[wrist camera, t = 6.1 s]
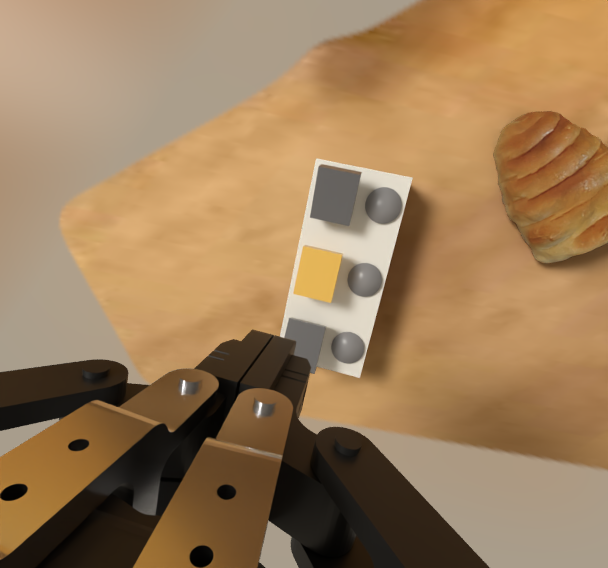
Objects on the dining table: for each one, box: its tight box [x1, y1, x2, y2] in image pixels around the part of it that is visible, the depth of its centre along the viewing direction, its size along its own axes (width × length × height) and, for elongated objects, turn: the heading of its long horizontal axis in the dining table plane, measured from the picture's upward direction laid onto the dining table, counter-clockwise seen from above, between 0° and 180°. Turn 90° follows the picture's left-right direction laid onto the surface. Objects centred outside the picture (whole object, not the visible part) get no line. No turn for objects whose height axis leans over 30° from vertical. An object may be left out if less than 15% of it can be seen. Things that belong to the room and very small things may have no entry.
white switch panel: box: [280, 159, 412, 378], centre depth 26 cm, size 6×14×4 cm, turn 168°
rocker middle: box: [293, 245, 343, 303], centre depth 23 cm, size 2×3×2 cm
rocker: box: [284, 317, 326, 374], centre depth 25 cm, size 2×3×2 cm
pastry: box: [493, 111, 608, 263], centre depth 23 cm, size 9×7×4 cm
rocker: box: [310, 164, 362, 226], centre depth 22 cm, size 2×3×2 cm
